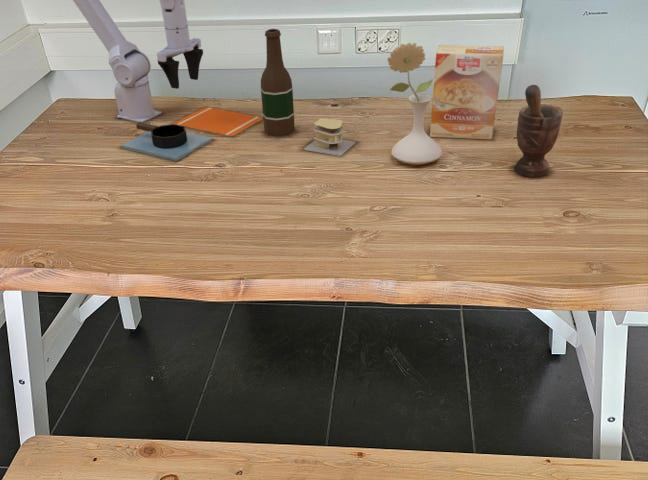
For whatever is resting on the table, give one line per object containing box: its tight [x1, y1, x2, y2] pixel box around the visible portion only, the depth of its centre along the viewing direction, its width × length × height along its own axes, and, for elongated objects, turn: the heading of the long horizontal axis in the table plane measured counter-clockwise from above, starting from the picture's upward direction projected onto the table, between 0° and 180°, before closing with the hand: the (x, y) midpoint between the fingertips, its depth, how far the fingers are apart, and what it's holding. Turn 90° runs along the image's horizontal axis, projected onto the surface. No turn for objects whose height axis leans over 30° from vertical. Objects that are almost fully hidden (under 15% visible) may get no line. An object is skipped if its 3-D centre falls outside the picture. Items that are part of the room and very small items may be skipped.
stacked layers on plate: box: [302, 117, 357, 157], centre depth 163 cm, size 10×9×6 cm
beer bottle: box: [260, 28, 295, 138], centre depth 165 cm, size 8×8×24 cm
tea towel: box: [172, 106, 263, 137], centre depth 181 cm, size 20×14×1 cm
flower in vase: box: [387, 42, 443, 165], centre depth 149 cm, size 13×11×25 cm
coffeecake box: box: [429, 44, 505, 141], centre depth 161 cm, size 15×7×20 cm, turn 76°
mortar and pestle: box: [513, 84, 564, 178], centre depth 141 cm, size 12×9×20 cm
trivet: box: [120, 125, 214, 162], centre depth 170 cm, size 18×14×1 cm
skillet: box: [135, 122, 187, 149], centre depth 169 cm, size 14×8×3 cm, turn 57°
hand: (184, 83), depth 177 cm, fingers open, 7 cm apart
